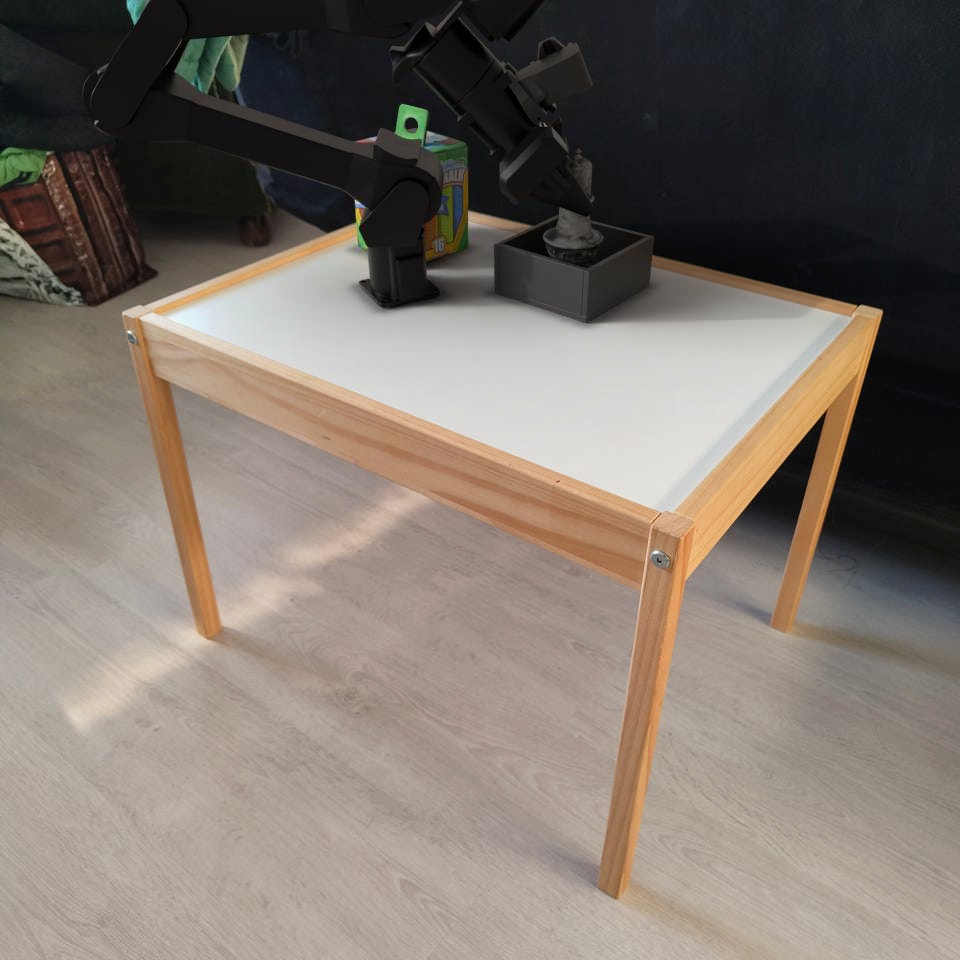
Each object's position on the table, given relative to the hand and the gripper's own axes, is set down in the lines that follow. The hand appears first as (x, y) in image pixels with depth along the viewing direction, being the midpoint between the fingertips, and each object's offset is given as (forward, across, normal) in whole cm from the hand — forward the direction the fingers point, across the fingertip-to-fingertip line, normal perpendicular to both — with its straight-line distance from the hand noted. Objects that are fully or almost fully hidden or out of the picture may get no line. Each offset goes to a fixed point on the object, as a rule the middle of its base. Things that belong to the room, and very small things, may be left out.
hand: (589, 206), depth 85 cm
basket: (+5, 0, +7) cm, 8 cm away
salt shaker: (+4, 0, +6) cm, 7 cm away
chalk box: (-6, +12, +19) cm, 23 cm away
